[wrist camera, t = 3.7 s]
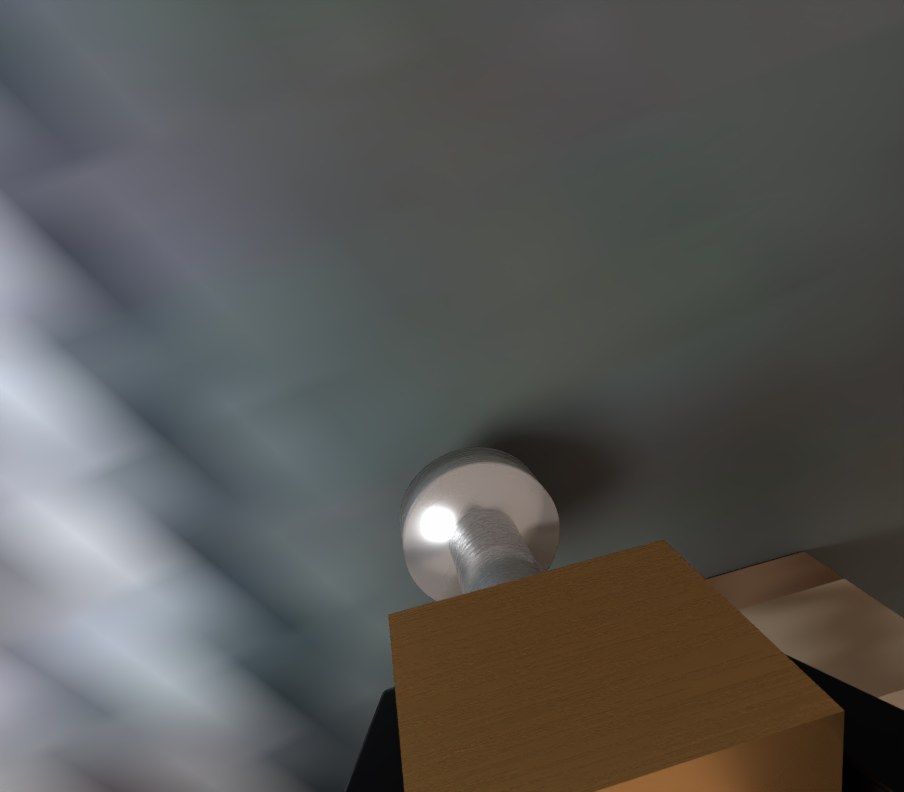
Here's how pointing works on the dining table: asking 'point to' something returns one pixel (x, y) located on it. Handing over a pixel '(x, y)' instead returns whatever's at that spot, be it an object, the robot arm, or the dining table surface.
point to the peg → (583, 659)
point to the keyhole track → (822, 622)
